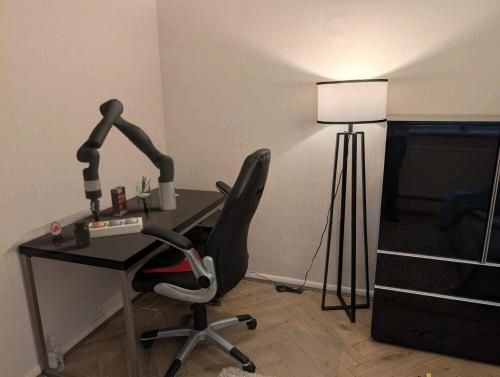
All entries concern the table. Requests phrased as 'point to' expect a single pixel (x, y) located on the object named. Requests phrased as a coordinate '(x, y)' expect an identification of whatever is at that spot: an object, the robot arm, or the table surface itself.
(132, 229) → the button box
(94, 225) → the button terracotta
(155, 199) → the table surface
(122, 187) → the supplement box
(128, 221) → the button sage
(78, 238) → the supplement bottle
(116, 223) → the button slate
